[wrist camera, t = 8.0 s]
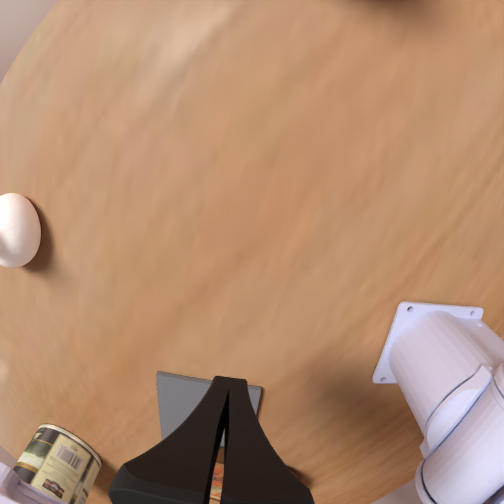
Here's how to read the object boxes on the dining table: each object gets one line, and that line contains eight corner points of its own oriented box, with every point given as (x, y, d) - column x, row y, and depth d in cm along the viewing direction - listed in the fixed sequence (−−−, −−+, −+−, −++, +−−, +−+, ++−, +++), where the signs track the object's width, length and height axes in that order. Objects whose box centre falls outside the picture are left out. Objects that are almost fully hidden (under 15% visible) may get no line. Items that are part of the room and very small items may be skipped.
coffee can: (45, 450, 32) (8, 513, 19) (33, 411, 29) (-17, 483, 16) (104, 479, 33) (75, 550, 19) (101, 445, 30) (61, 532, 16)
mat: (261, 386, 25) (261, 390, 25) (239, 488, 31) (239, 491, 30) (158, 371, 25) (156, 374, 25) (168, 477, 31) (167, 480, 30)
